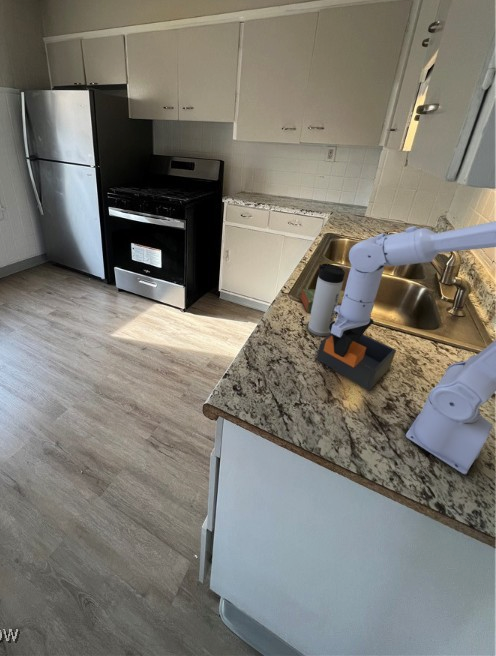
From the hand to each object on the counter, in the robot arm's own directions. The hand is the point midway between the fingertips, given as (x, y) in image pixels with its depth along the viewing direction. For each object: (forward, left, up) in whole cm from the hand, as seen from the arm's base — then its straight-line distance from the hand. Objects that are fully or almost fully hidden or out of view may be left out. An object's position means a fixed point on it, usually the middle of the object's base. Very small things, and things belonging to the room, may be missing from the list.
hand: (344, 349), depth 69 cm
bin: (0, -8, -8) cm, 11 cm away
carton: (+18, -28, -9) cm, 34 cm away
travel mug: (+13, -14, -9) cm, 21 cm away
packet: (0, 0, -1) cm, 1 cm away
